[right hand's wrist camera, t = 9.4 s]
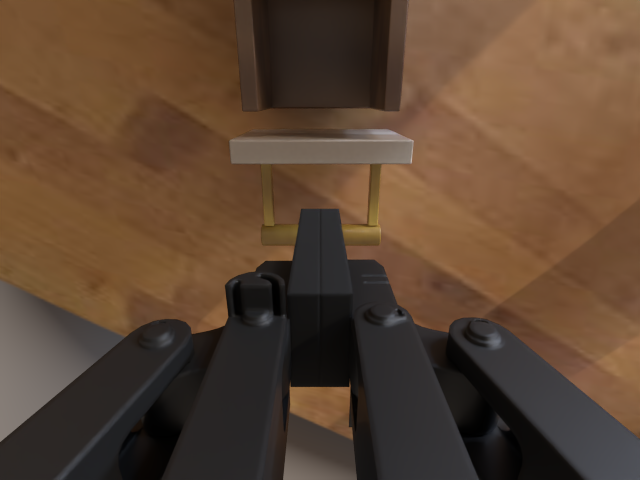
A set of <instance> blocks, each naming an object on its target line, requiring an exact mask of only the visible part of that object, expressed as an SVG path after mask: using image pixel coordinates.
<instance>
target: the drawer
mask: <svg viewBox="0 0 640 480" xmlns="http://www.w3.org/2000/svg"><path fill="white" fill-rule="evenodd" d="M408 2H409V0H234V9H235V22H236V35H237V48H238V61H239V73H240V86H241V99H242V110H243V111H261V110H266V109H271V108H372V109H376V110H381V111H400V103H401V91H402V78H403V65H404V53H405V40H406V28H407V15H408ZM229 148H230V159H231V164H261V178H262V194H263V210H264V224H263V225H262V228H261V242H262V245H263V246H295V243H296V237H297V231H298V225H299V224H274V223H275V217H274V198H273V178H272V164H370V177H369V196H368V215H367V224H341V225H342V231H343V237H344V243H345V246H378V245H380V241H381V228H380V225H379V224H378V209H379V193H380V178H381V164H411V162H412V151H413V140H411V139H409V138H406V137H404V136H402V135H400V134H398V133H396V132H393V131H391V130H389V129H253V130H251V131H249V132H247V133H244V134H242V135H240V136H238V137H236V138H234V139H232V140H229Z"/></svg>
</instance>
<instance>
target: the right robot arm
mask: <svg viewBox="0 0 640 480" xmlns="http://www.w3.org/2000/svg"><path fill="white" fill-rule="evenodd" d="M225 290H226V299H227V308H228V316H229V317H228V320H227V322H226V324H225V326H223V327H220V328H218V329H214V330H210V331H206V332H201V333H196V334H191V328H190V326H189V325H188V324H187V323H186V322H183V321H180V320H177V319H164V320H157V321H153V322H151V323H148V324H146V325H143V326H141V327H139V328H138V329H136V330H135V331H133V332H131V333H130V334H129V335H128V336H127V337H125V338H124V339H123V340H122V341H121V342H119V343H118V344H117V345H116V346H115V347H113V348H112V349H111V350H110V351H109V352H108V353H106V354H105V355H104V356H103V357H102V358H100V359H99V360H98V361H97V362H96V363H94V364H93V365H92V366H91V367H90V368H88V369H87V370H86V371H85V372H84V373H82V374H81V375H80V376H79V377H78V378H76V379H75V380H74V381H73V382H72V383H70V384H69V385H68V386H67V387H66V388H65V389H63V390H62V391H61V392H60V393H58V394H57V395H56V396H55V397H54V398H52V399H51V400H50V401H49V402H48V403H47V404H45V405H44V406H43V407H42V408H41V409H39V410H38V411H37V412H36V413H35V414H33V415H32V416H31V417H30V418H29V419H27V420H26V421H25V422H24V423H23V424H21V425H20V426H19V427H18V428H17V429H15V430H14V431H13V432H12V433H11V434H9V435H8V436H7V437H6V438H5V439H3V440H2V441H1V442H0V480H283V473H284V463H285V452H286V442H287V431H288V421H289V410H290V391H289V387H290V383H291V387H349V383H350V385H351V391H350V414H349V427H352V431H353V441H354V451H355V462H356V473H357V480H640V439H639V438H638V437H637V436H635V435H634V434H633V433H632V432H631V431H629V430H628V429H627V428H626V427H624V426H623V425H622V424H621V423H620V422H618V421H617V420H616V419H615V418H614V417H612V416H611V415H610V414H609V413H608V412H606V411H605V410H604V409H603V408H602V407H600V406H599V405H598V404H597V403H596V402H594V401H593V400H592V399H591V398H589V397H588V396H587V395H586V394H585V393H583V392H582V391H581V390H580V389H579V388H577V387H576V386H575V385H574V384H573V383H571V382H570V381H569V380H568V379H567V378H565V377H564V376H563V375H562V374H561V373H559V372H558V371H557V370H556V369H554V368H553V367H552V366H551V365H550V364H548V363H547V362H546V361H545V360H544V359H542V358H541V357H540V356H539V355H538V354H536V353H535V352H534V351H533V350H532V349H530V348H529V347H528V346H527V345H526V344H524V343H523V342H522V341H521V340H520V339H518V338H517V337H516V336H515V335H513V334H512V333H511V332H510V331H508V330H507V329H505V328H504V327H502V326H501V325H499V324H496V323H494V322H491V321H489V320H486V319H482V318H481V319H480V318H461V319H458V320H455V321H454V322H453V323H452V324H451V325H450V328H449V333H447V332H442V331H437V330H432V329H428V328H424V327H421V326H419V325H416V324H414V321H413V319H412V317H411V315H410V314H409V313H408V311H407V310H405V309H404V308H402V307H401V306H399V305H397V302H396V299H395V297H394V294H393V291H392V289H391V286H390V284H389V281H388V278H387V277H386V273H385V270H384V267H383V266H382V265H380V264H379V263H378V262H377V261H375V260H347V255H346V249H345V243H344V237H343V231H342V225H341V219H340V213H339V209H301V213H300V219H299V225H298V231H297V237H296V243H295V249H294V255H293V261H265V262H264V263H263V264H261V265H260V266H259V267H257V269H256V271H255V272H248V273H245V274H241V275H238V276H236V277H234V278H232V279H230V280H229V281H228V282H227V283H226V285H225Z"/></svg>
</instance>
